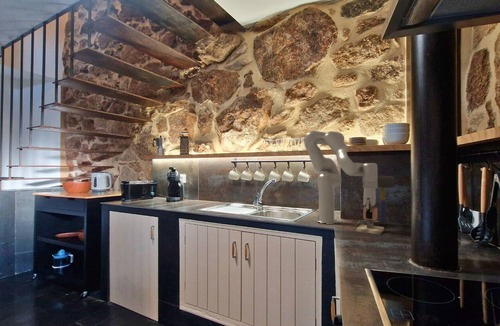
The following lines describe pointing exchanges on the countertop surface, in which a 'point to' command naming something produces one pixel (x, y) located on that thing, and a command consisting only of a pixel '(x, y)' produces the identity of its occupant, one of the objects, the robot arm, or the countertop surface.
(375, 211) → the orange brown cube
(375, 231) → the post base
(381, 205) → the rubber mallet
